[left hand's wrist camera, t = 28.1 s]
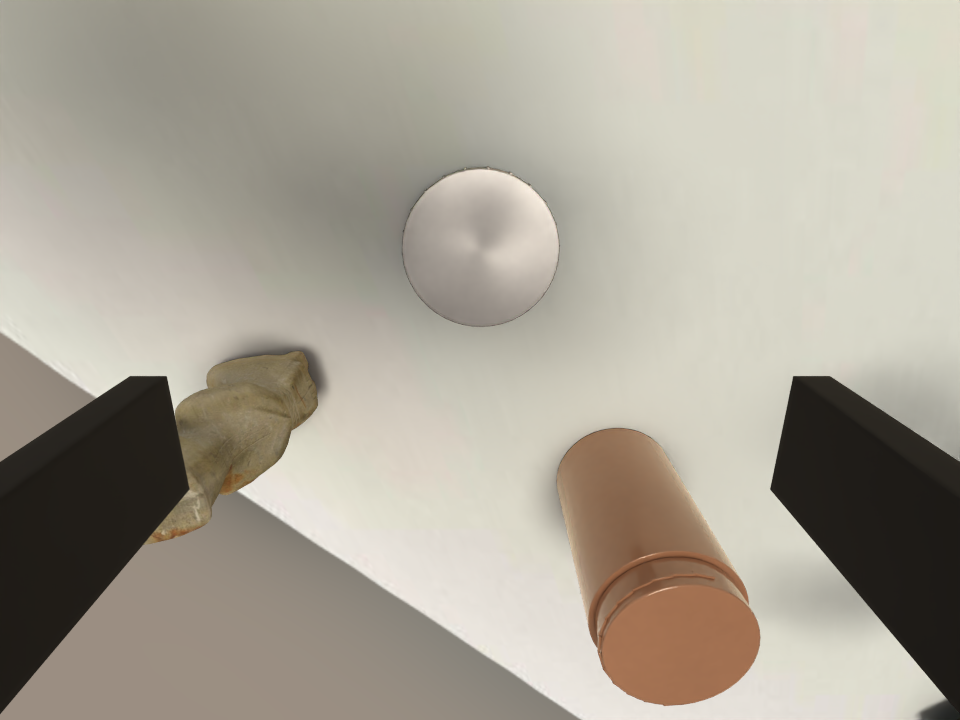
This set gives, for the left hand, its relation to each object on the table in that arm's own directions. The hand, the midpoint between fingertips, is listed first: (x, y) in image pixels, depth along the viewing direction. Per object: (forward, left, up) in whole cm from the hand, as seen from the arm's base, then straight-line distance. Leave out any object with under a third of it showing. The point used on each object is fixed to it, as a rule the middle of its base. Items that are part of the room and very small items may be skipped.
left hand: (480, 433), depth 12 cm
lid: (0, 0, -24) cm, 24 cm away
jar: (+19, -7, -26) cm, 33 cm away
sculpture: (-5, -16, -26) cm, 31 cm away
